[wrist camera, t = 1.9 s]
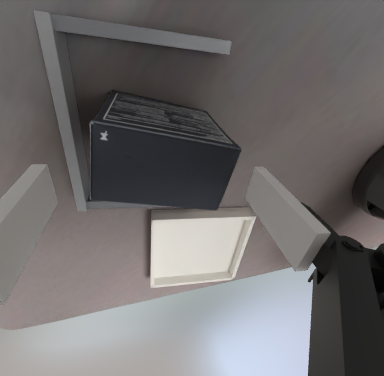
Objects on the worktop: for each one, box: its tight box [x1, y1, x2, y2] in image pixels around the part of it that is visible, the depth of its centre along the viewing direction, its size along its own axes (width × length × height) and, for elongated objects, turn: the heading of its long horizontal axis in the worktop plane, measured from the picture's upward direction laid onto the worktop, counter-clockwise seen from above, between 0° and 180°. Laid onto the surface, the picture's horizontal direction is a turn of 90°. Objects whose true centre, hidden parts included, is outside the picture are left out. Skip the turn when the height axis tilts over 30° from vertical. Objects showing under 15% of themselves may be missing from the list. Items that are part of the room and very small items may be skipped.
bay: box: [33, 10, 232, 211], centre depth 22 cm, size 15×18×3 cm
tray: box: [150, 207, 256, 288], centre depth 35 cm, size 15×15×2 cm
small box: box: [89, 90, 241, 210], centre depth 20 cm, size 11×6×10 cm, turn 76°
